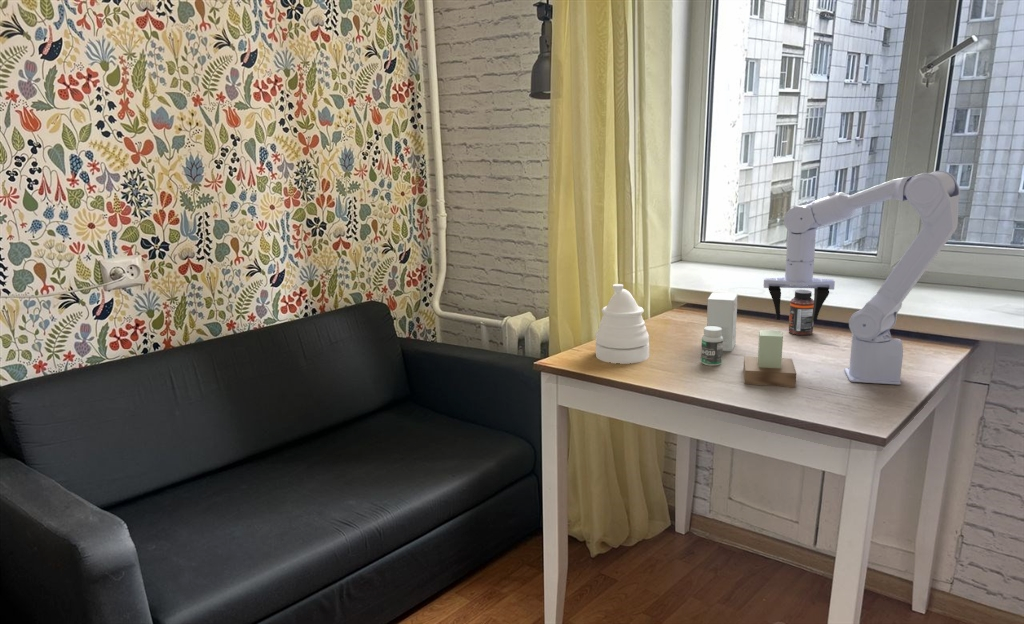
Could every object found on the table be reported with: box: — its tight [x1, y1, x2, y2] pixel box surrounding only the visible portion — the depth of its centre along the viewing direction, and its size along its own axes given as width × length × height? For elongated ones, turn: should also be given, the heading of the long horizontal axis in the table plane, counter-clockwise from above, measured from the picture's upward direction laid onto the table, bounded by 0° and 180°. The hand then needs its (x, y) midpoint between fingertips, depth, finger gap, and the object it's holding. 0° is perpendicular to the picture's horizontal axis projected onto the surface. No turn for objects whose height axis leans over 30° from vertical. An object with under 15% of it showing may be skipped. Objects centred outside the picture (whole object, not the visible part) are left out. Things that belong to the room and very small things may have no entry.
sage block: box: [757, 329, 784, 368], centre depth 143 cm, size 4×4×7 cm
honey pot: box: [595, 283, 650, 365], centre depth 162 cm, size 13×13×18 cm
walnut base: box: [743, 355, 797, 388], centre depth 145 cm, size 10×10×3 cm
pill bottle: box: [700, 325, 724, 367], centre depth 155 cm, size 5×5×8 cm
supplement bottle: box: [788, 289, 815, 336], centre depth 176 cm, size 6×6×11 cm
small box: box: [706, 291, 738, 352], centre depth 167 cm, size 8×6×13 cm
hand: (796, 319), depth 152 cm, fingers open, 7 cm apart
